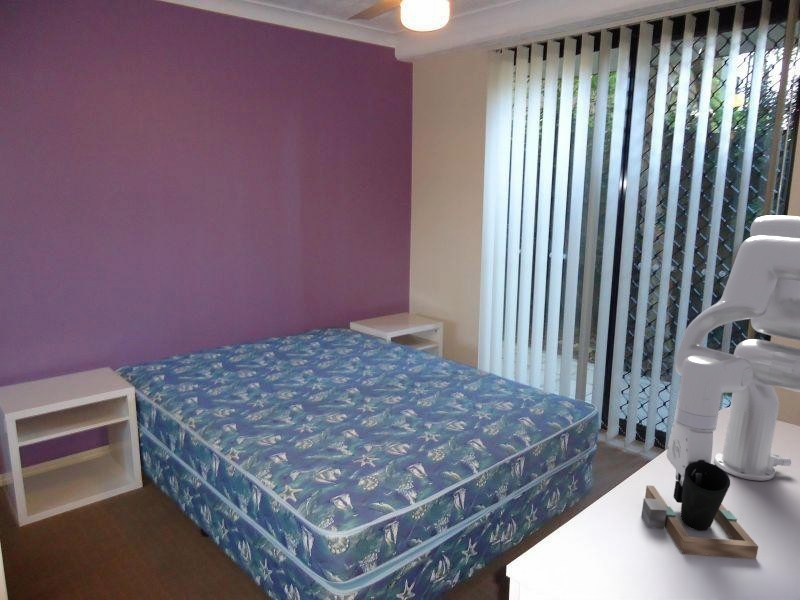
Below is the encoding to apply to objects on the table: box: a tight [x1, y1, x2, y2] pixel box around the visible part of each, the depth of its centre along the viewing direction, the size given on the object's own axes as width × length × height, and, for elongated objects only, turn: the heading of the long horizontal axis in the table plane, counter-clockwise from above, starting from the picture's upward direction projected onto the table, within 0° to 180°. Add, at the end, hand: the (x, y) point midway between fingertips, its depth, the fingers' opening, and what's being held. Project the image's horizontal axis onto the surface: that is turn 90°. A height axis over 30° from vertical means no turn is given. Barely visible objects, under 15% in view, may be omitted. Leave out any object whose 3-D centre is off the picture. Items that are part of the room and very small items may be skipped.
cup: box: [680, 462, 731, 532], centre depth 111 cm, size 8×8×12 cm
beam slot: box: [641, 485, 759, 560], centre depth 114 cm, size 17×20×4 cm
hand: (682, 500), depth 119 cm, fingers closed
